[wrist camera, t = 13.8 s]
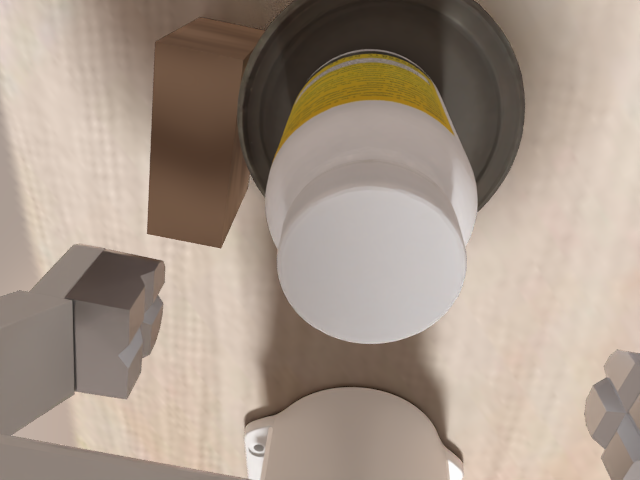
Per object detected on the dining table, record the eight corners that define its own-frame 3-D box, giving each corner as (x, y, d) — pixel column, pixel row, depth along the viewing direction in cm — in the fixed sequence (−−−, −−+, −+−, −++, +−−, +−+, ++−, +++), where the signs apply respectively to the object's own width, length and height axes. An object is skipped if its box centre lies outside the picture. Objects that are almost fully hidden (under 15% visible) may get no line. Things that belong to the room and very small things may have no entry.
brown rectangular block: (247, 188, 37) (221, 248, 30) (187, 176, 37) (147, 233, 30) (269, 31, 32) (243, 59, 25) (200, 17, 32) (155, 41, 25)
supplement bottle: (263, 94, 20) (191, 219, 11) (403, 15, 18) (441, 91, 10) (336, 216, 22) (322, 399, 14) (467, 155, 21) (544, 316, 12)
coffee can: (457, -65, 30) (526, -59, 17) (466, 125, 34) (525, 236, 22) (265, -29, 31) (202, 1, 19) (300, 149, 36) (269, 266, 23)
